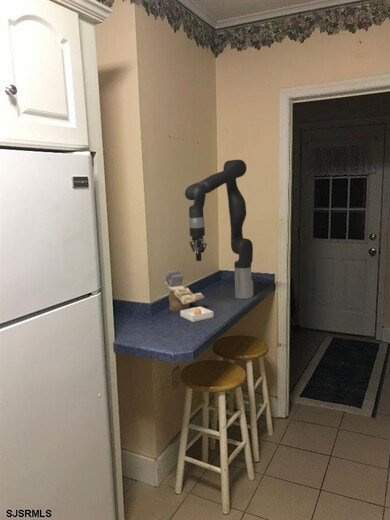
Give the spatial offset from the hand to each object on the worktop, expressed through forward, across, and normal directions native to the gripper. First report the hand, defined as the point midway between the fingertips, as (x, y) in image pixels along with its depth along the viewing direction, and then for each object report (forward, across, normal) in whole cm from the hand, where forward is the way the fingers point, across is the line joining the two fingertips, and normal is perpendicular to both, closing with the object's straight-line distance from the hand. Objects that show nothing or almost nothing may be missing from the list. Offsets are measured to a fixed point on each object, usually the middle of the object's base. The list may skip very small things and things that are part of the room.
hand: (198, 260), depth 216 cm
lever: (+16, +7, +5) cm, 18 cm away
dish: (+25, -9, +9) cm, 28 cm away
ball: (+24, -10, +9) cm, 28 cm away
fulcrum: (+25, +8, +8) cm, 28 cm away
